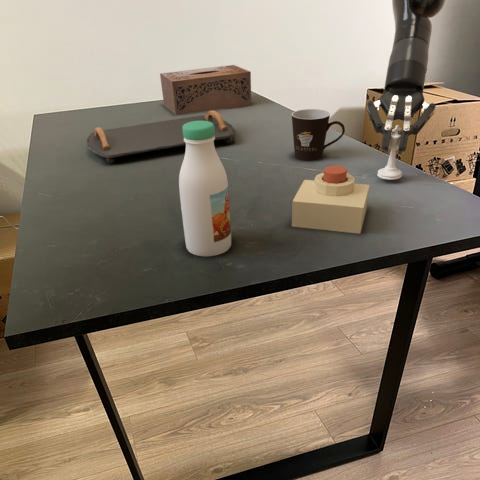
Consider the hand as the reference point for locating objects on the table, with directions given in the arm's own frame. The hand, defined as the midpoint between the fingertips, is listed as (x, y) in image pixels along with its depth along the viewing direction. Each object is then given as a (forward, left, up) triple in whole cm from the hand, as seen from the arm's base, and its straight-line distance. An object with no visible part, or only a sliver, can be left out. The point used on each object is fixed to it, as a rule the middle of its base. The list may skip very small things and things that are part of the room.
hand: (393, 151), depth 93 cm
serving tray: (+59, -17, -7) cm, 62 cm away
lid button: (+9, +16, -1) cm, 18 cm away
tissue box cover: (+62, -57, -7) cm, 85 cm away
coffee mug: (+18, -13, -7) cm, 23 cm away
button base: (+9, +18, -7) cm, 21 cm away
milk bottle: (+27, +33, -7) cm, 43 cm away
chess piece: (0, -2, -6) cm, 6 cm away
